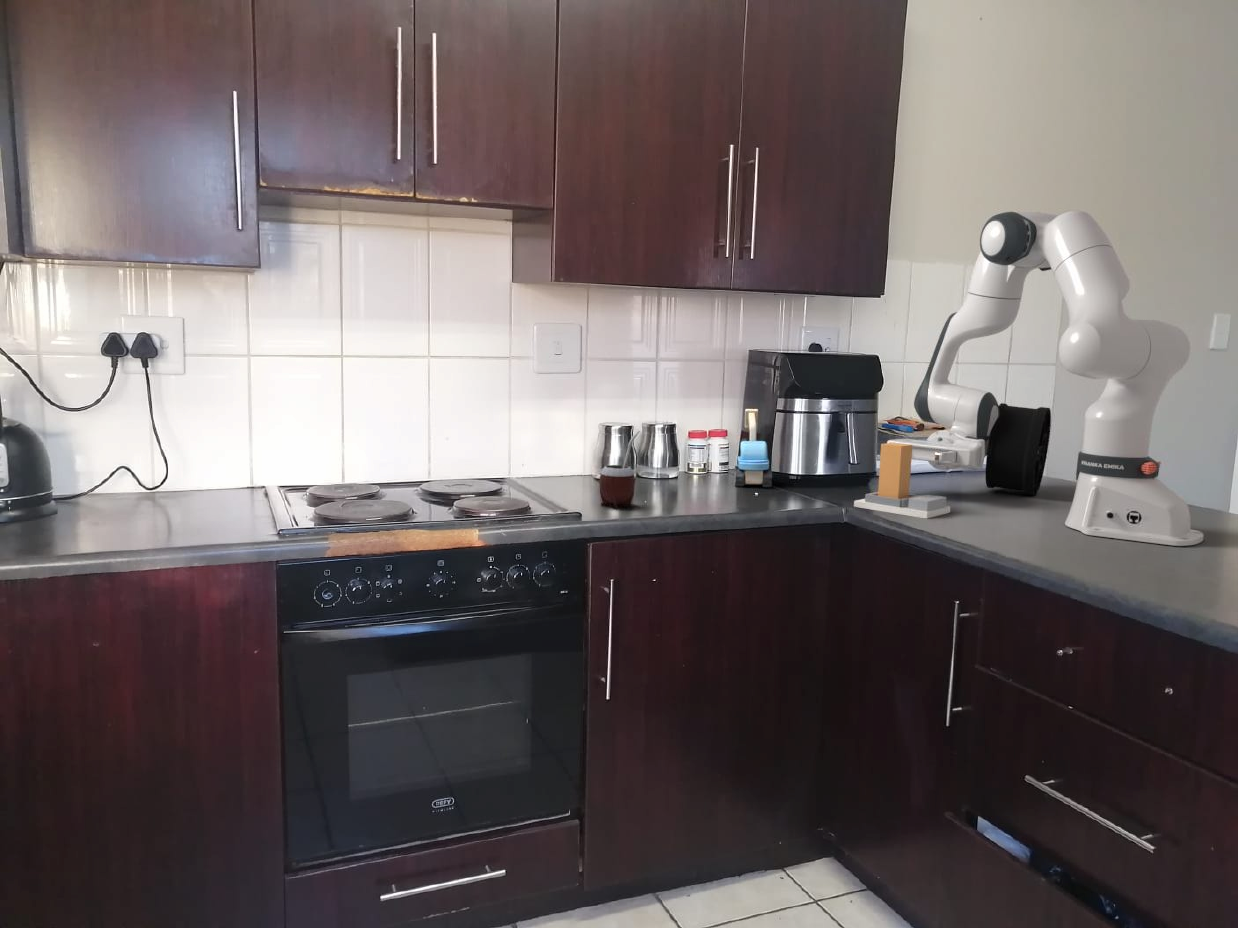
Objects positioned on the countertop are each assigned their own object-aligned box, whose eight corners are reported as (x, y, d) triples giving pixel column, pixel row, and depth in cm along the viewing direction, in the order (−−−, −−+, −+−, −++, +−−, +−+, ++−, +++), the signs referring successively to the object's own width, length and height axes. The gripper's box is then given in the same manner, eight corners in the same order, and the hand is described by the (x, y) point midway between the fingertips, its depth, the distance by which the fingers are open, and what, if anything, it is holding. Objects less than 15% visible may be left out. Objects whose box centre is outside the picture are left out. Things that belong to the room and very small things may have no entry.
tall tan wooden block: (908, 502, 191) (912, 444, 189) (897, 505, 188) (901, 446, 186) (888, 499, 194) (892, 442, 192) (877, 501, 191) (881, 444, 189)
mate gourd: (596, 508, 183) (598, 433, 181) (602, 501, 191) (603, 429, 188) (634, 510, 182) (636, 434, 180) (638, 503, 190) (640, 430, 188)
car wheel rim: (1029, 501, 203) (1043, 410, 200) (981, 493, 208) (993, 405, 205) (1041, 489, 220) (1054, 405, 217) (996, 482, 225) (1008, 400, 222)
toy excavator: (768, 478, 227) (771, 408, 225) (772, 489, 211) (776, 414, 208) (732, 477, 228) (735, 407, 226) (734, 488, 212) (737, 413, 209)
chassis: (949, 512, 187) (951, 496, 187) (926, 518, 180) (927, 502, 180) (878, 501, 199) (879, 486, 198) (853, 506, 191) (854, 491, 191)
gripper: (903, 431, 213) (873, 435, 203) (992, 440, 199) (964, 444, 189) (901, 458, 214) (871, 463, 204) (989, 469, 199) (961, 475, 190)
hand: (916, 454), depth 196 cm, fingers open, 8 cm apart
